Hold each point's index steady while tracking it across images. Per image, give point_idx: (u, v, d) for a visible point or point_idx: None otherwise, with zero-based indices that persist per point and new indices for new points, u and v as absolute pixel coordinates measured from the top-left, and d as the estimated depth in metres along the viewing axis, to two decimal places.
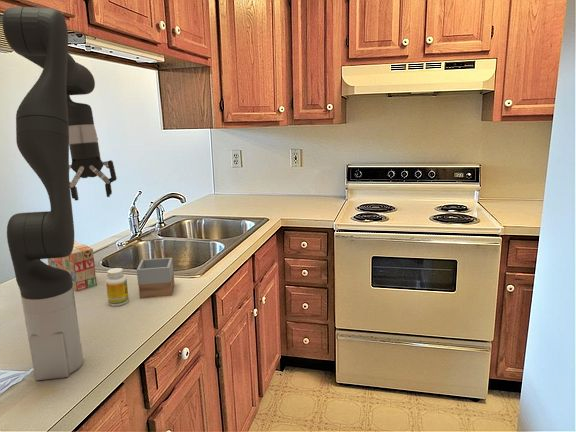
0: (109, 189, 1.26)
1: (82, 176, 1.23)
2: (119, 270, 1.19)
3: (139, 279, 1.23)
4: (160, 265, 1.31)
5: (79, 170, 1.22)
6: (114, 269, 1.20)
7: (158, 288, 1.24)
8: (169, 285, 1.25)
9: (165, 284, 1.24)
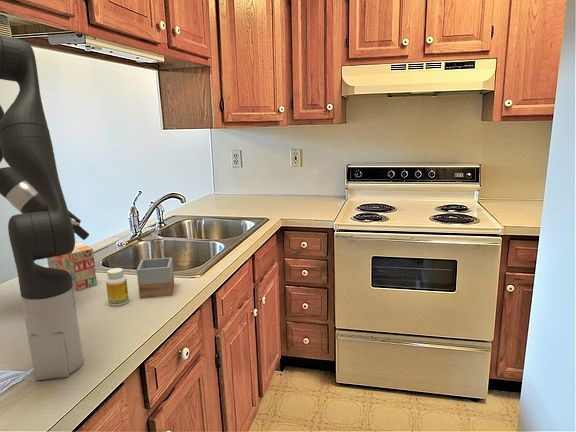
0: None
1: None
2: (119, 270, 1.19)
3: (139, 279, 1.23)
4: (160, 265, 1.31)
5: None
6: (114, 269, 1.20)
7: (158, 288, 1.24)
8: (169, 285, 1.25)
9: (165, 284, 1.24)
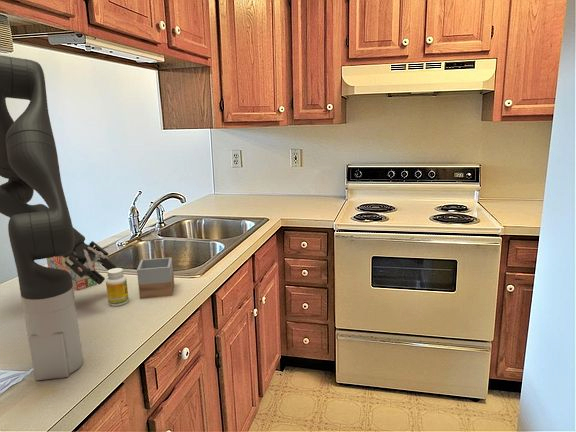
0: None
1: (89, 259, 1.17)
2: (119, 270, 1.19)
3: (139, 279, 1.23)
4: (160, 265, 1.31)
5: (85, 253, 1.16)
6: (114, 269, 1.20)
7: (158, 288, 1.24)
8: (169, 285, 1.25)
9: (165, 284, 1.24)
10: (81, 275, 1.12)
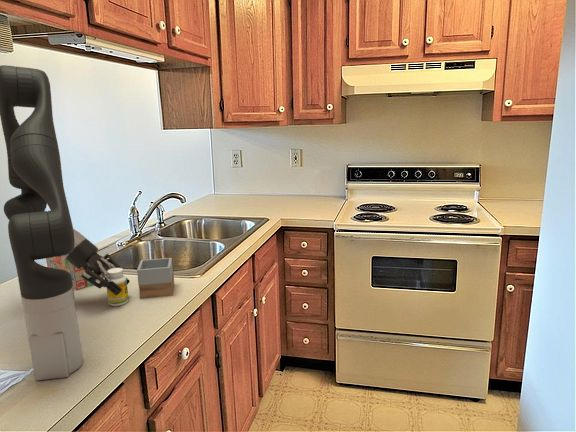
0: None
1: None
2: (119, 270, 1.19)
3: (139, 279, 1.22)
4: (160, 265, 1.31)
5: (99, 264, 1.17)
6: (114, 269, 1.20)
7: (158, 288, 1.24)
8: (169, 285, 1.25)
9: (165, 284, 1.24)
10: (99, 286, 1.14)
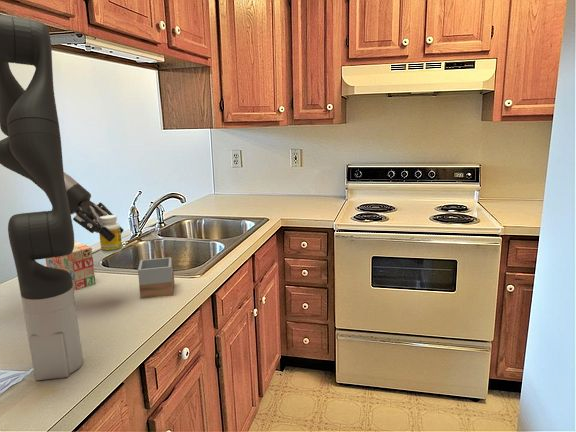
0: None
1: None
2: (112, 216, 1.16)
3: (140, 279, 1.22)
4: (159, 265, 1.31)
5: (92, 209, 1.14)
6: (107, 215, 1.17)
7: (159, 288, 1.24)
8: (170, 285, 1.25)
9: (166, 284, 1.25)
10: (91, 230, 1.11)
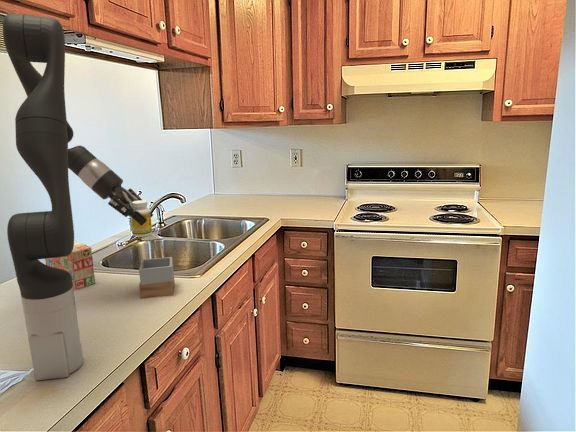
0: None
1: None
2: (143, 201, 1.21)
3: (142, 279, 1.23)
4: (160, 264, 1.31)
5: (125, 194, 1.19)
6: None
7: (159, 288, 1.24)
8: (170, 284, 1.25)
9: (166, 284, 1.24)
10: (125, 214, 1.16)
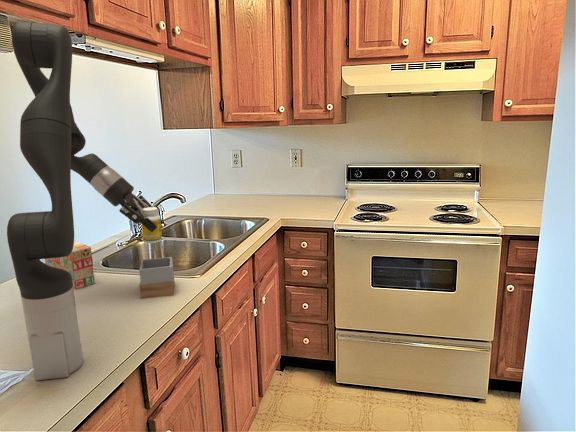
0: None
1: None
2: (154, 208, 1.23)
3: (142, 279, 1.23)
4: (160, 264, 1.32)
5: (136, 202, 1.21)
6: (149, 207, 1.24)
7: (159, 288, 1.24)
8: (170, 285, 1.25)
9: (166, 284, 1.24)
10: (136, 221, 1.18)
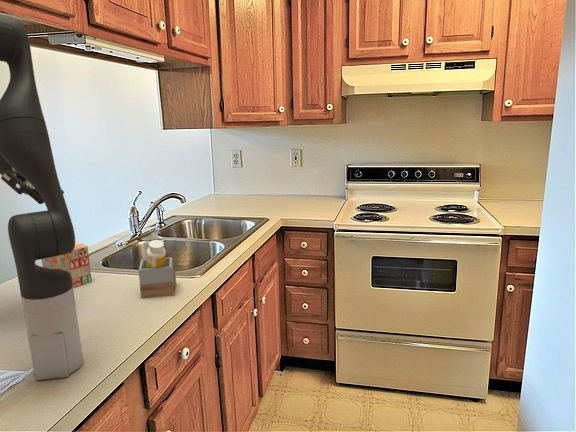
0: None
1: None
2: (159, 242, 1.24)
3: (141, 279, 1.23)
4: None
5: None
6: (152, 243, 1.22)
7: (159, 288, 1.24)
8: (170, 285, 1.25)
9: (166, 284, 1.24)
10: (19, 192, 1.04)
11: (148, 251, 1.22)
